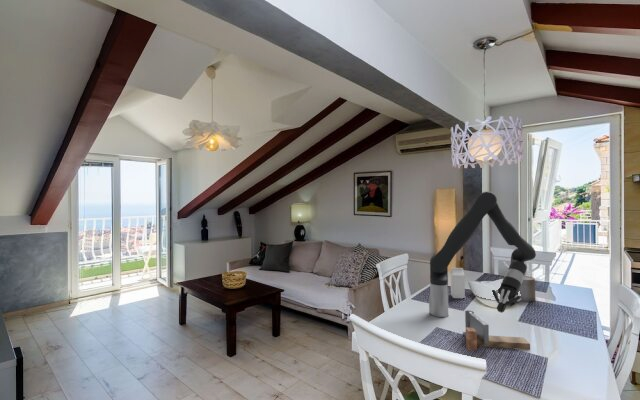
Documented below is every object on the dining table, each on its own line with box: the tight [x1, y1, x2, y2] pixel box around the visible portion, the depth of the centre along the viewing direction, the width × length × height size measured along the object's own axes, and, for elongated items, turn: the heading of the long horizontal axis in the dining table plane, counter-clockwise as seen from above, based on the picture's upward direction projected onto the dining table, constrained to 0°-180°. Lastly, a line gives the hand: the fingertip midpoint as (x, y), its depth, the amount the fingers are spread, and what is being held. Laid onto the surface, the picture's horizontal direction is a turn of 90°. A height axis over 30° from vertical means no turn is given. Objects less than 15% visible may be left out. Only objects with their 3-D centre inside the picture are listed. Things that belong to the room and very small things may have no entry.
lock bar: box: [464, 310, 490, 344], centre depth 141 cm, size 17×4×10 cm, turn 179°
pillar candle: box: [519, 275, 536, 302], centre depth 198 cm, size 10×10×15 cm
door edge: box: [462, 326, 531, 351], centre depth 140 cm, size 26×18×8 cm
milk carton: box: [450, 267, 466, 299], centre depth 205 cm, size 7×7×19 cm
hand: (499, 311), depth 144 cm, fingers closed
